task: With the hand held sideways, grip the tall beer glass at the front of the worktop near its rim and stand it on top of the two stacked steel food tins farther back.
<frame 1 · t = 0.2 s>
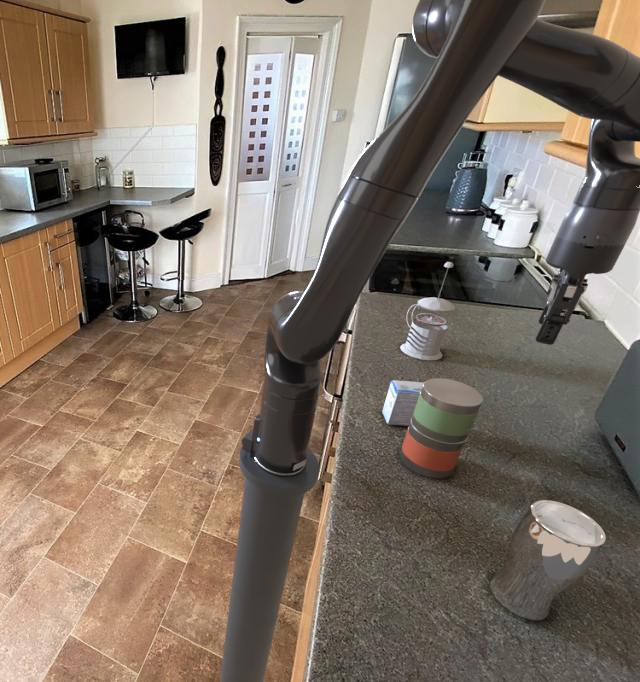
hand: (544, 333, 72), 25 cm above the countertop, tool pointing down, fingers open, 8 cm apart
tin stack: (425, 461, 81), on the countertop
beer glass: (517, 598, 58), on the countertop
medicine box: (404, 421, 92), on the countertop
french press: (418, 350, 118), on the countertop
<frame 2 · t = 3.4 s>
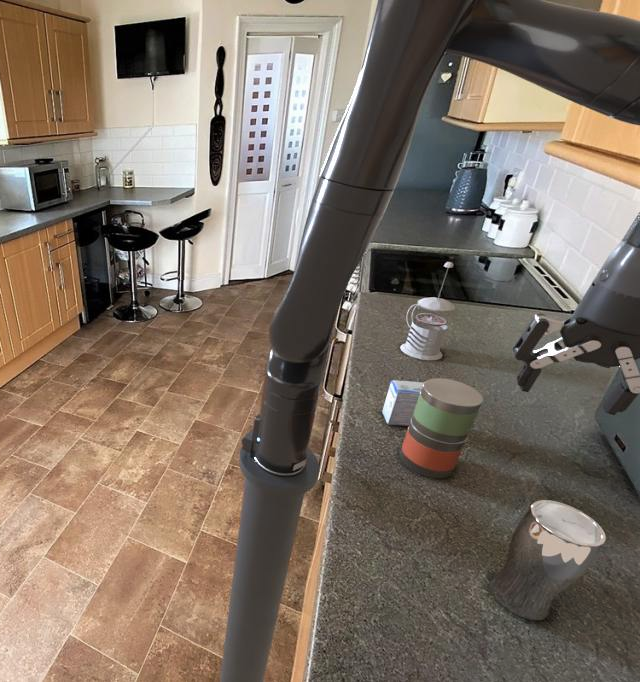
hand: (563, 399, 57), 25 cm above the countertop, tool pointing down, fingers open, 8 cm apart
nothing on the countertop moved.
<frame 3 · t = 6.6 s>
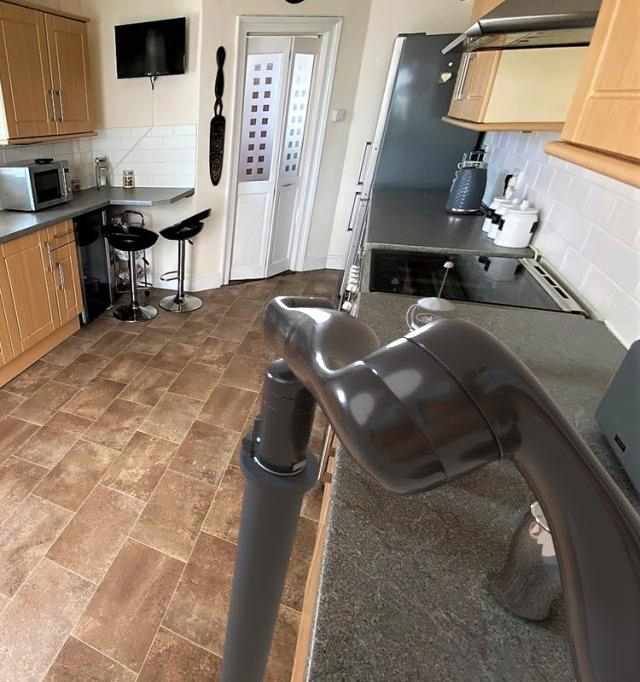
nothing on the countertop moved.
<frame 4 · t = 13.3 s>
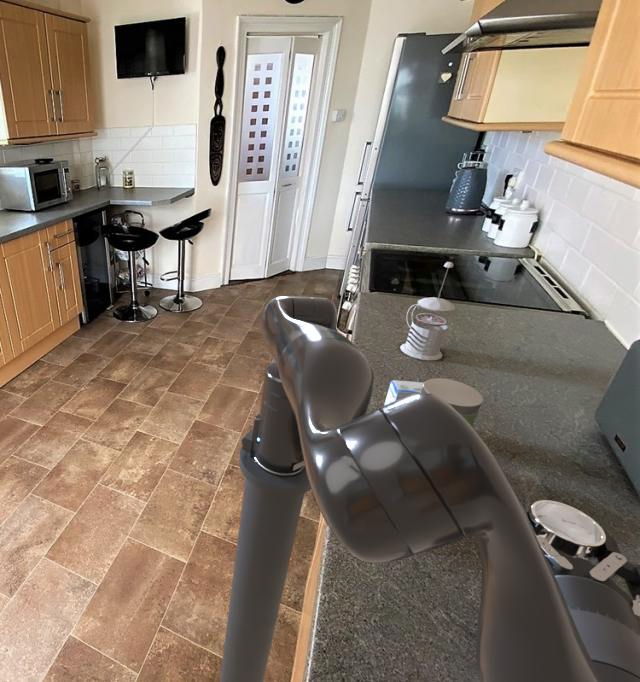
hand: (556, 520, 54), 13 cm above the countertop, tool horizontal, fingers closed on beer glass, 7 cm apart
beer glass: (517, 598, 58), on the countertop, touching gripper
everything else where it was.
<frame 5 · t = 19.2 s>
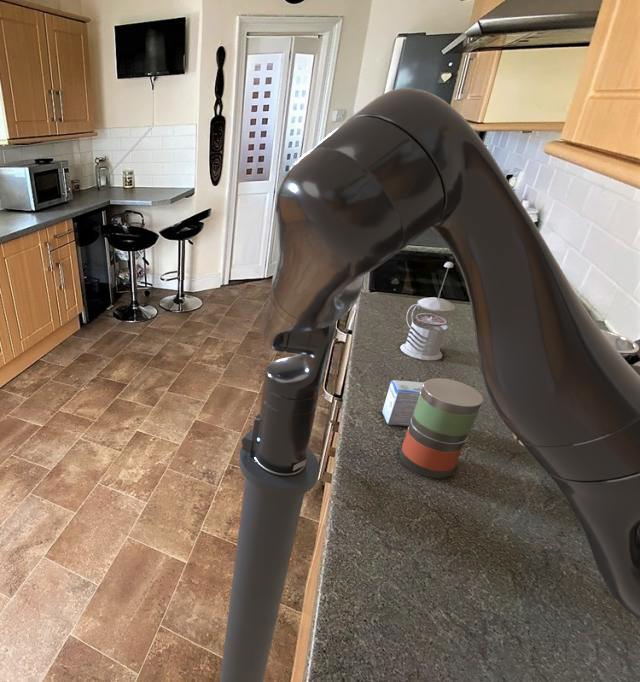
hand: (583, 345, 51), 34 cm above the countertop, tool horizontal, fingers closed on beer glass, 7 cm apart
beer glass: (540, 443, 55), point 21 cm above the countertop, touching gripper
everything else where it was.
when the fingers open (29 cm above the countertop, at t = 25.1 s): beer glass stays where it is, resting on tin stack.
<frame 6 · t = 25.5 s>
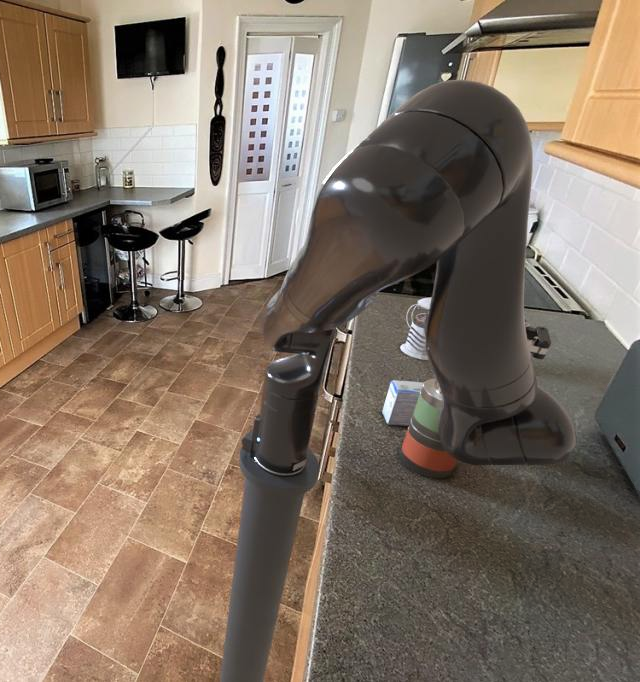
hand: (479, 314, 68), 30 cm above the countertop, tool horizontal, fingers open, 8 cm apart
beer glass: (452, 392, 73), point 16 cm above the countertop, touching tin stack
everything else where it was.
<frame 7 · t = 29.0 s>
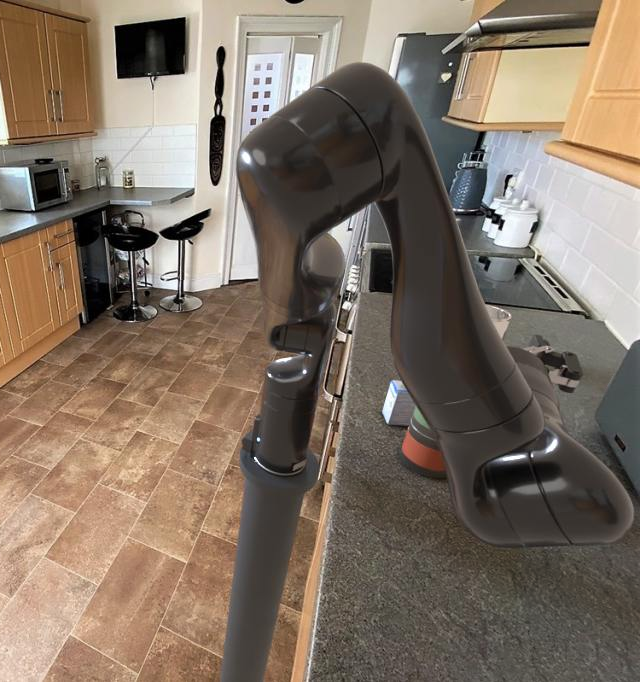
hand: (492, 334, 58), 32 cm above the countertop, tool horizontal, fingers open, 8 cm apart
nothing on the countertop moved.
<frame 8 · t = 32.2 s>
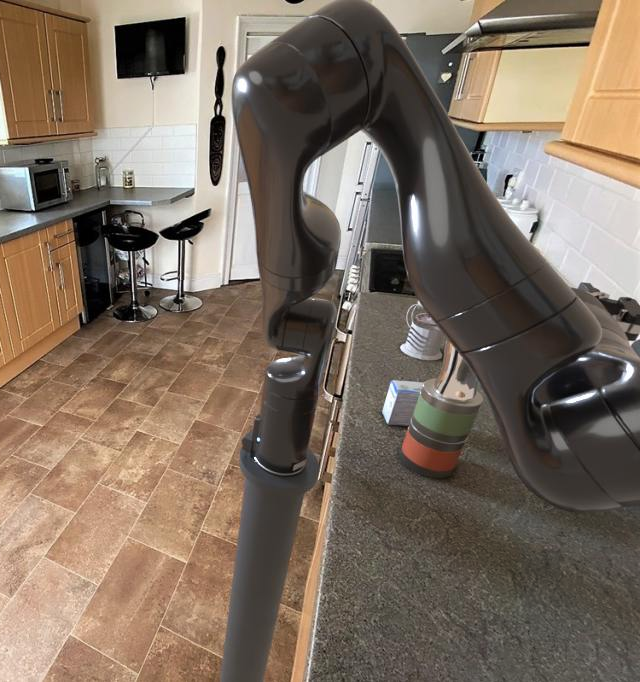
hand: (532, 284, 51), 40 cm above the countertop, tool horizontal, fingers open, 8 cm apart
nothing on the countertop moved.
at the end: beer glass 0.1 cm off-centre on the tin stack, point 15.8 cm above the tin stack's base; beer glass tilted 0°; the gripper is holding nothing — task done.
